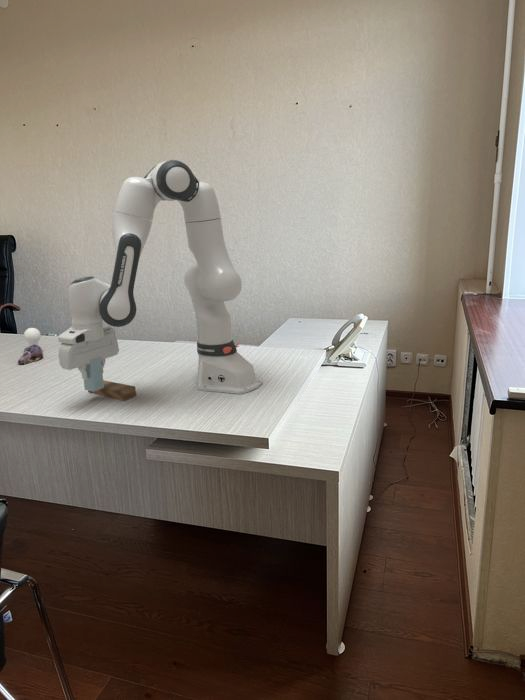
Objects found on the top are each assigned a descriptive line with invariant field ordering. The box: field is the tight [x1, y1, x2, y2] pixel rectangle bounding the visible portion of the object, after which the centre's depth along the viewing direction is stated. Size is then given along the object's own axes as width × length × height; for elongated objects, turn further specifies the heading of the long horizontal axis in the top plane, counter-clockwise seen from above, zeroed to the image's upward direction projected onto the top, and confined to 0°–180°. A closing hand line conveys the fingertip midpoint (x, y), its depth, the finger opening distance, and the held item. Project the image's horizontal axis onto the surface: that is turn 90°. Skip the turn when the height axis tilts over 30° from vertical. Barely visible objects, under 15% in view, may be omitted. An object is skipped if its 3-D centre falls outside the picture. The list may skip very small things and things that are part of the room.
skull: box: [17, 344, 44, 365], centre depth 206 cm, size 12×8×6 cm, turn 161°
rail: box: [87, 379, 137, 402], centre depth 168 cm, size 16×5×3 cm, turn 59°
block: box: [83, 357, 104, 392], centre depth 162 cm, size 4×4×10 cm
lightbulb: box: [23, 327, 42, 346], centre depth 217 cm, size 6×6×11 cm
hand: (93, 376), depth 162 cm, fingers closed on block, 4 cm apart
